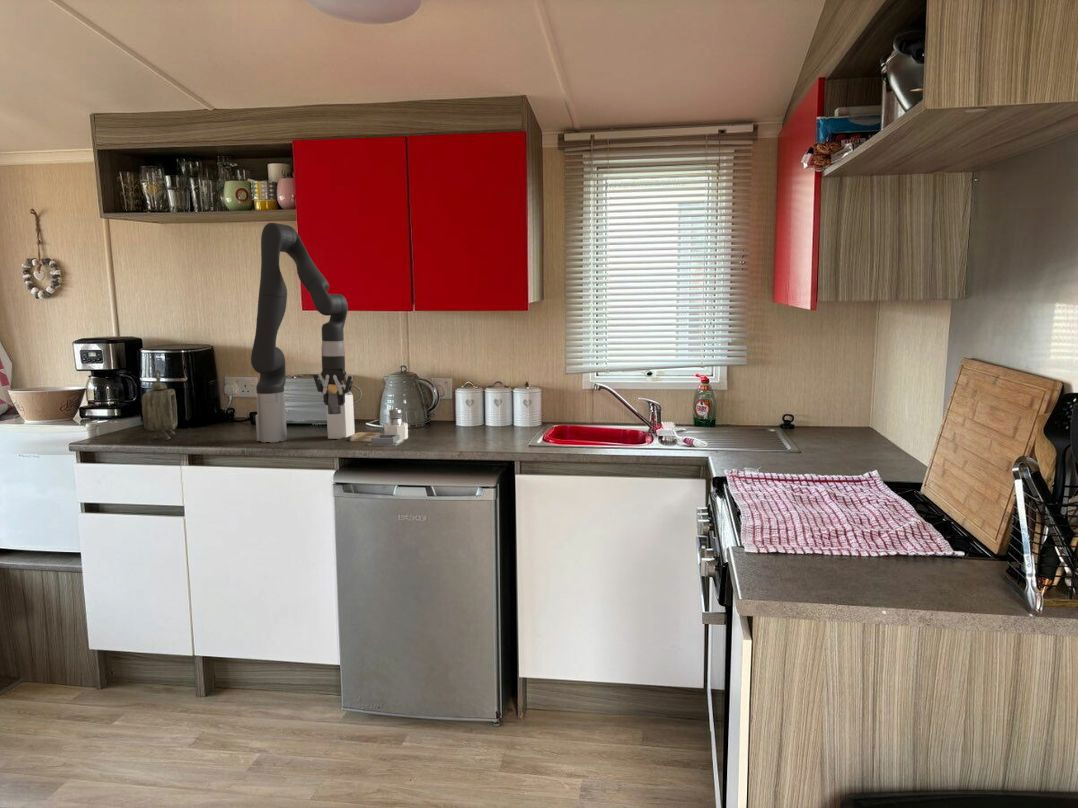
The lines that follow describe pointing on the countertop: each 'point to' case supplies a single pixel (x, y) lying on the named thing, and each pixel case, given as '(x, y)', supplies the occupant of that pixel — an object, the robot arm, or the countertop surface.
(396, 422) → the cell
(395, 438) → the grey flat block
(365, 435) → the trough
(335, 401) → the cell
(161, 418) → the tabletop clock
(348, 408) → the milk carton
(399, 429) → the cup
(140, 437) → the countertop surface
